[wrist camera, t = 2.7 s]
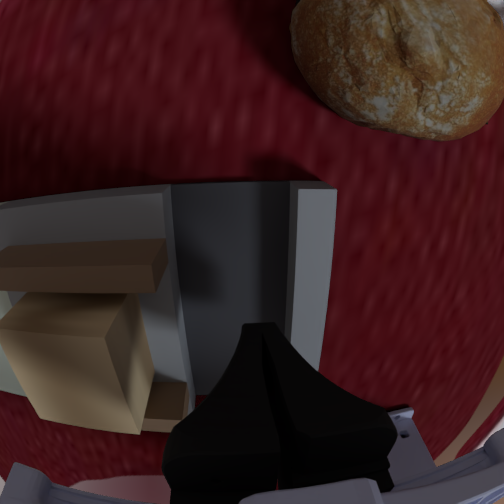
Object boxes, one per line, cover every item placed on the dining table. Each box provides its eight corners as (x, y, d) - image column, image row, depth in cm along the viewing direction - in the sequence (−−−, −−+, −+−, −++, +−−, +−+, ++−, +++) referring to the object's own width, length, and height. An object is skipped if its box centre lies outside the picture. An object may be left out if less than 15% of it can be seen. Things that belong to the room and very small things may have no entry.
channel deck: (322, 180, 14) (362, 204, 9) (304, 386, 18) (320, 444, 14) (-55, 213, 12) (-102, 237, 8) (-1, 369, 17) (-28, 408, 13)
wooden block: (135, 280, 12) (104, 337, 9) (155, 371, 14) (140, 434, 11) (39, 280, 12) (-7, 327, 8) (68, 364, 14) (40, 418, 10)
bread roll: (329, -29, 12) (294, -117, 5) (497, 24, 10) (549, -43, 2) (290, 114, 16) (224, 75, 9) (472, 178, 13) (547, 189, 6)
